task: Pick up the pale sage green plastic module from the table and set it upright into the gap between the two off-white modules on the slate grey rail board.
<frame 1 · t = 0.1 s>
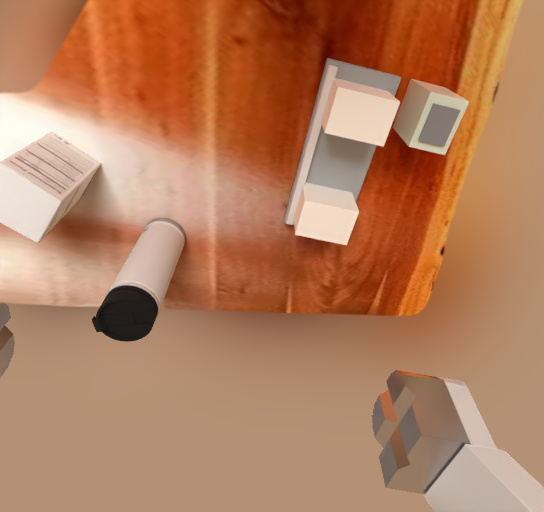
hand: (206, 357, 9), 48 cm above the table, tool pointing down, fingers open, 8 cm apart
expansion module: (417, 107, 52), on the table
travel mug: (164, 235, 63), on the table
rail board: (335, 153, 55), on the table
supplement box: (67, 166, 57), on the table
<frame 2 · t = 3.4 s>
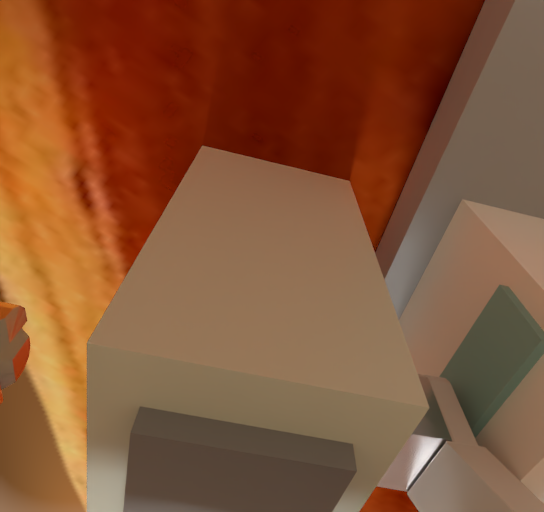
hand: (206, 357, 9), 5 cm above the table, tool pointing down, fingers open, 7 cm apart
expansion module: (255, 249, 14), on the table
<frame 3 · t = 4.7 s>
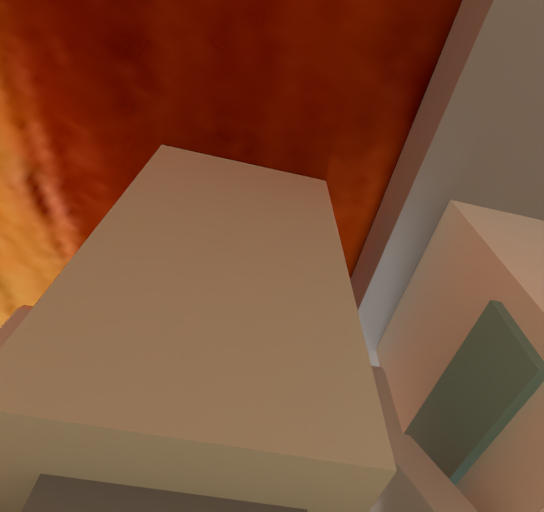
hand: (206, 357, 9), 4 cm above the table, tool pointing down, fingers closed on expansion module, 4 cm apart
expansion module: (227, 256, 12), on the table, touching gripper
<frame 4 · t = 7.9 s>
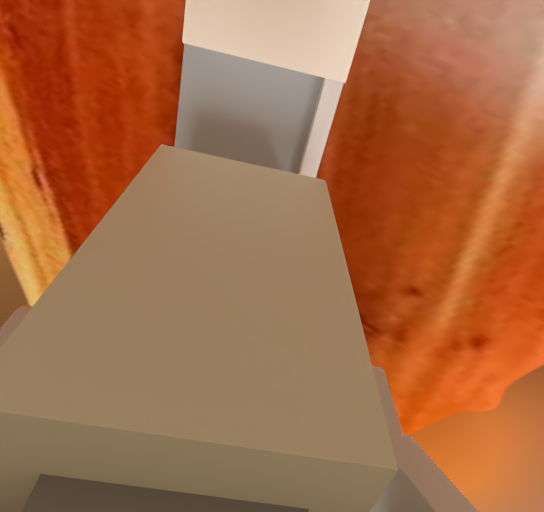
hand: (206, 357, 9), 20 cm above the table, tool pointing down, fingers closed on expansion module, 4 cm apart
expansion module: (226, 256, 12), point 16 cm above the table, touching gripper
rail board: (255, 118, 26), on the table
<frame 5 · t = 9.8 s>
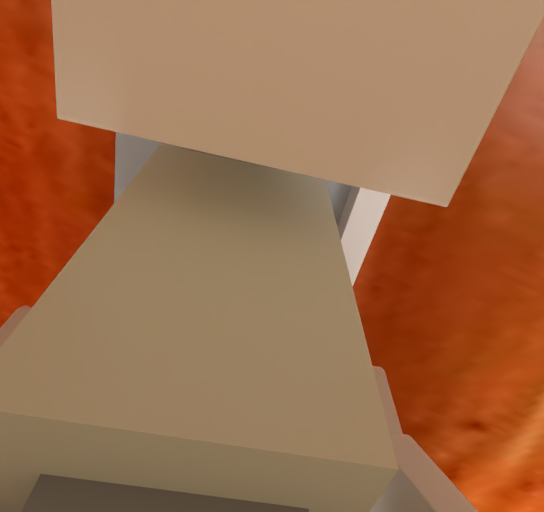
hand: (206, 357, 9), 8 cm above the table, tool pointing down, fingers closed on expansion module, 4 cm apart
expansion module: (226, 256, 12), point 4 cm above the table, touching gripper
rail board: (246, 200, 16), on the table
when the fingers open (7 cm above the table, at t = 11.2 s): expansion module drops 1 cm, resting on rail board.
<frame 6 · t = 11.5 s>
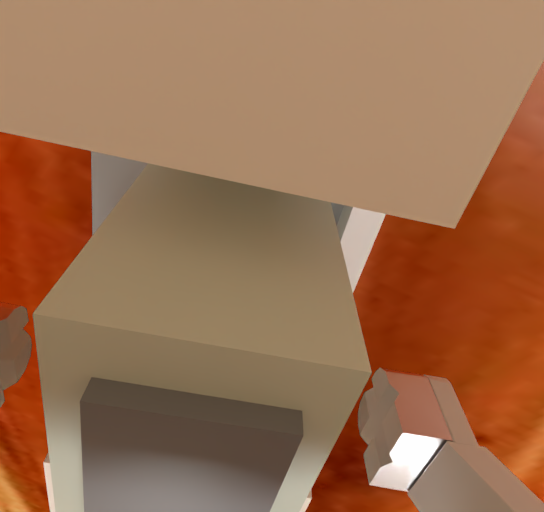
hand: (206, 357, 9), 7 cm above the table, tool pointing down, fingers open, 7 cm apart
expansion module: (231, 234, 14), point 1 cm above the table, touching rail board
rail board: (235, 209, 15), on the table
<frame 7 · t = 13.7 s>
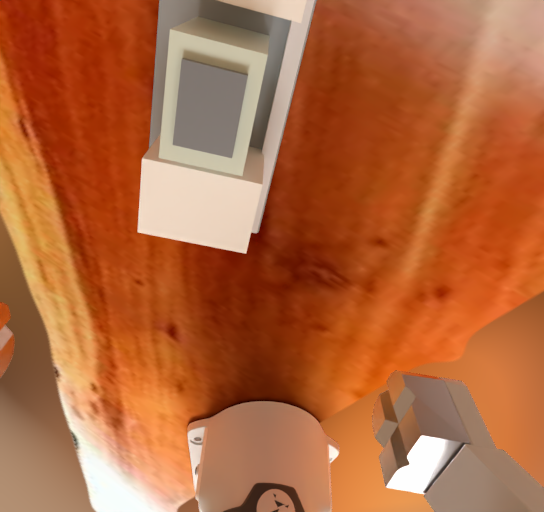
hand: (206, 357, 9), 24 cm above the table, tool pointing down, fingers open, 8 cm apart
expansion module: (225, 77, 27), point 1 cm above the table, touching rail board
rail board: (228, 70, 28), on the table
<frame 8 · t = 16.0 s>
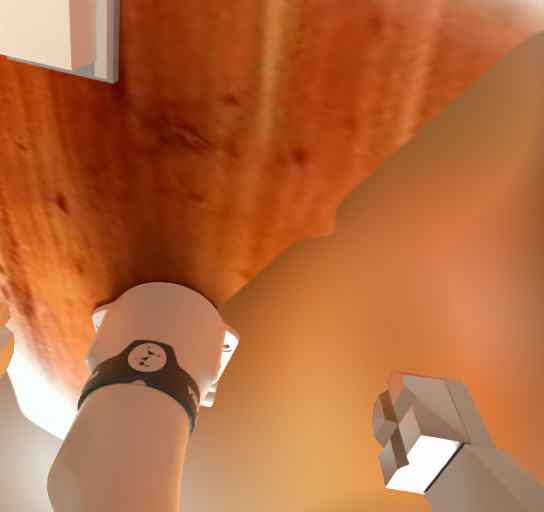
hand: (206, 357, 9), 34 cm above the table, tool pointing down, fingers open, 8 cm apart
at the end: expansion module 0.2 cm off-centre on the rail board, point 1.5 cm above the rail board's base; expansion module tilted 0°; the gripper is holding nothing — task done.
